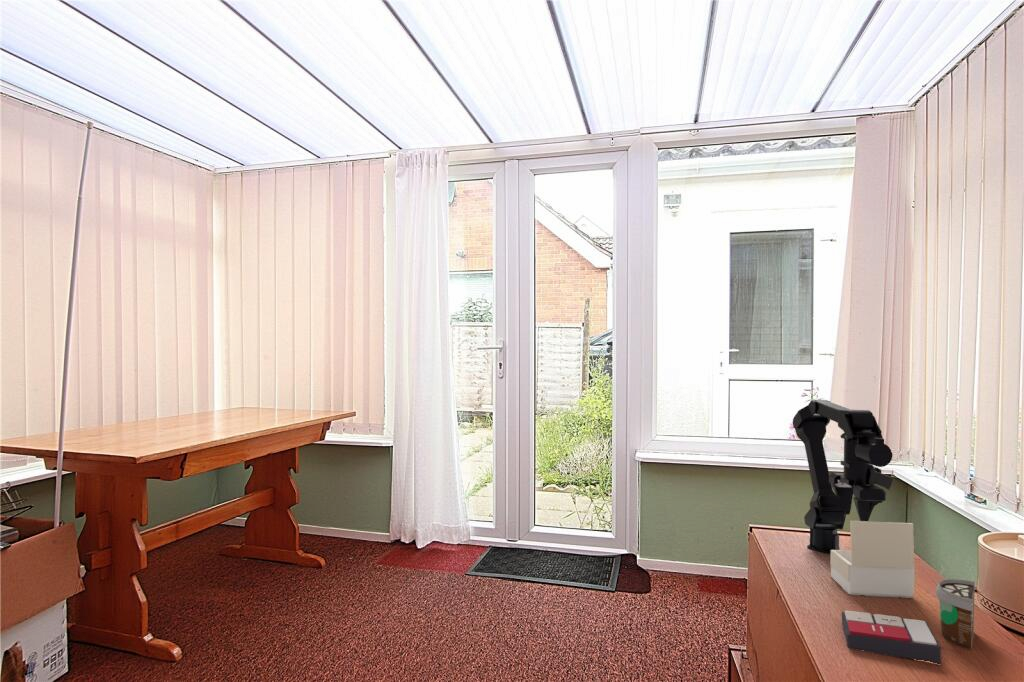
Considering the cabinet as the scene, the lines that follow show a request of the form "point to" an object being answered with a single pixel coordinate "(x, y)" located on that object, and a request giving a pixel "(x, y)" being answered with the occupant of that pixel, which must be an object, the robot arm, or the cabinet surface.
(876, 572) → the carton
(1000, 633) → the cabinet surface
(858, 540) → the carton flap
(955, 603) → the food container
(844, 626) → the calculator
